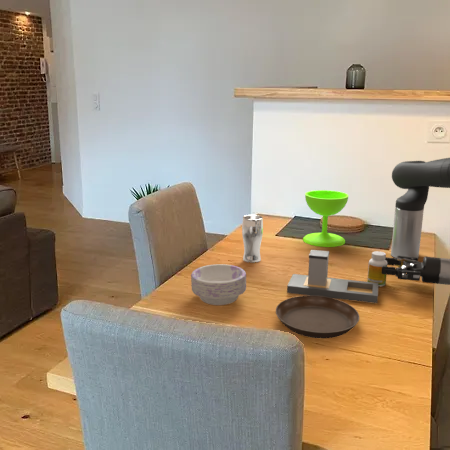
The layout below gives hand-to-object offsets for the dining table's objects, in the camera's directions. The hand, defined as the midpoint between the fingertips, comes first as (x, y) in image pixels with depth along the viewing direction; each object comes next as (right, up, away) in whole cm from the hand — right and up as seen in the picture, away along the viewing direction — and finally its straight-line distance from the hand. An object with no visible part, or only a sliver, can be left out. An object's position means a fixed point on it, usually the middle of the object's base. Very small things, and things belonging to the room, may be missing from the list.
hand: (381, 265), depth 156 cm
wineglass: (-9, +6, +44) cm, 46 cm away
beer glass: (-38, 0, +22) cm, 44 cm away
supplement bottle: (-1, -6, +2) cm, 6 cm away
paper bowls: (-48, -9, -10) cm, 50 cm away
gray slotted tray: (-15, -7, -4) cm, 18 cm away
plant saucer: (-24, -13, -24) cm, 36 cm away
